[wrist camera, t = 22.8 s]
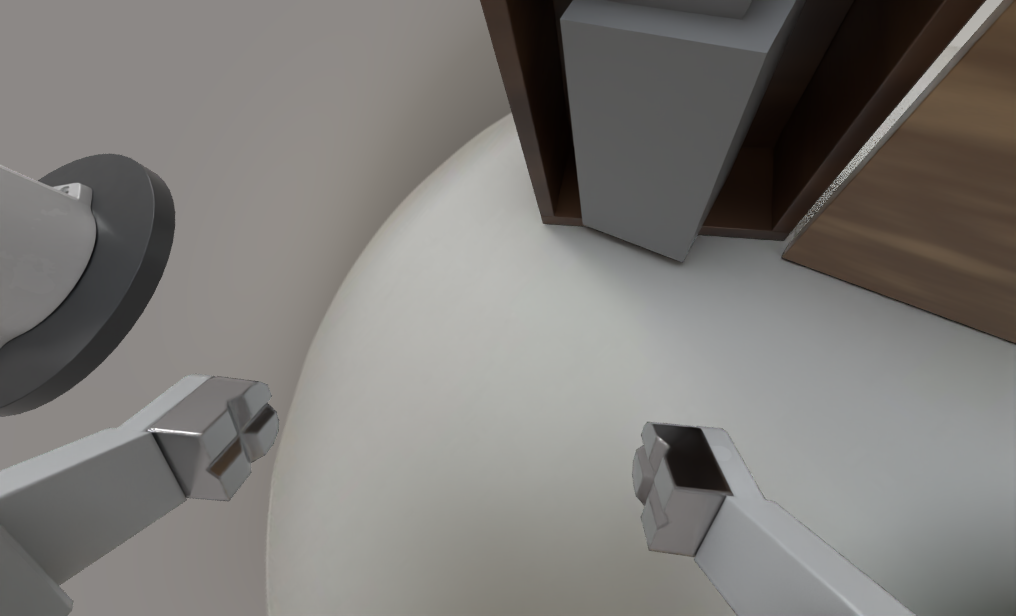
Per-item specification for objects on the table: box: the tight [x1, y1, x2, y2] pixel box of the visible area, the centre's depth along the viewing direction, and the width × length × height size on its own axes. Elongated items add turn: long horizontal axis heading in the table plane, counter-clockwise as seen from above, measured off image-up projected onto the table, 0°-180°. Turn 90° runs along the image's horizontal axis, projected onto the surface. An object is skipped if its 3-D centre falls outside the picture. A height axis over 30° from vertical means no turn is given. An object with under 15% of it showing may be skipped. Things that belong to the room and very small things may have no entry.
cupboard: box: [480, 0, 986, 241], centre depth 16 cm, size 7×15×23 cm, turn 77°
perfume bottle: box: [560, 0, 806, 262], centre depth 17 cm, size 7×7×18 cm
